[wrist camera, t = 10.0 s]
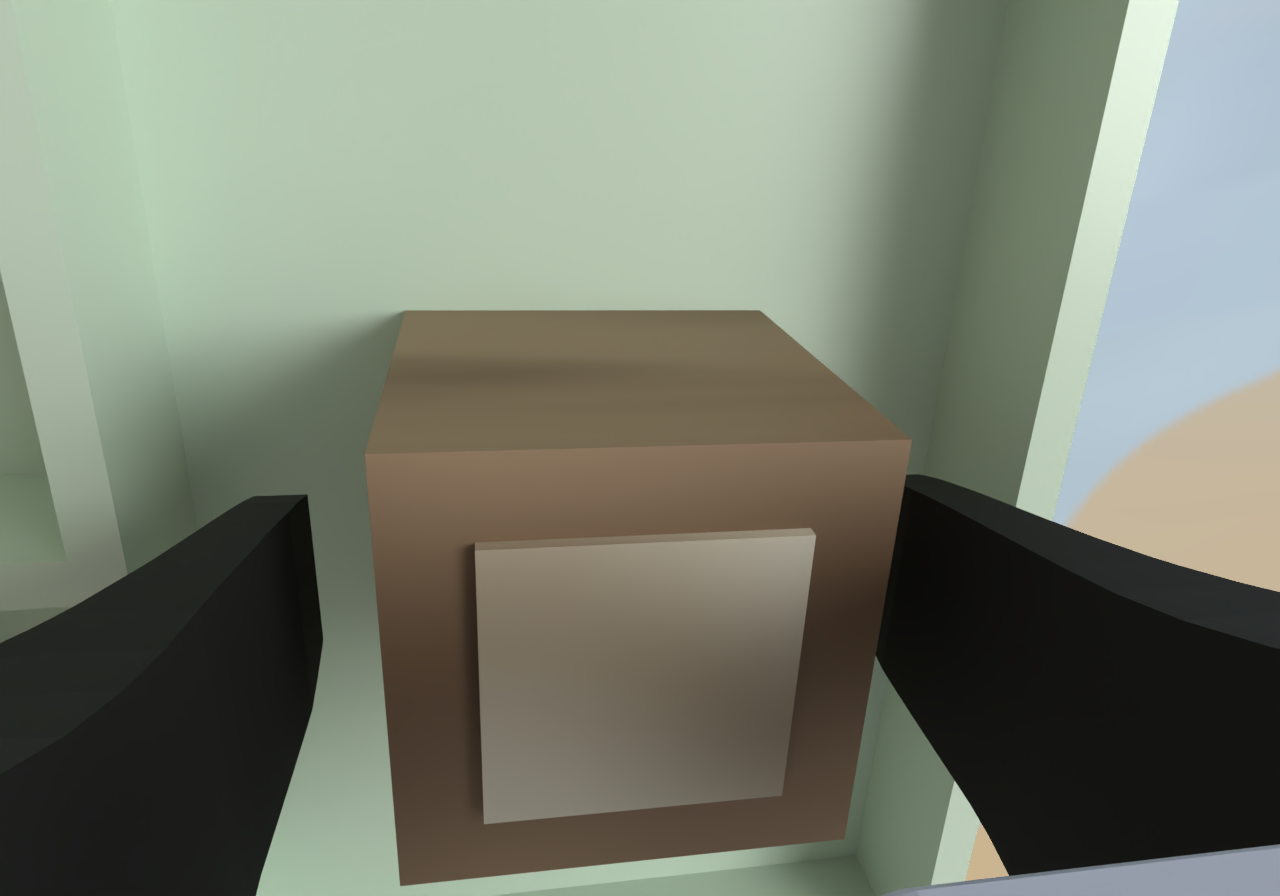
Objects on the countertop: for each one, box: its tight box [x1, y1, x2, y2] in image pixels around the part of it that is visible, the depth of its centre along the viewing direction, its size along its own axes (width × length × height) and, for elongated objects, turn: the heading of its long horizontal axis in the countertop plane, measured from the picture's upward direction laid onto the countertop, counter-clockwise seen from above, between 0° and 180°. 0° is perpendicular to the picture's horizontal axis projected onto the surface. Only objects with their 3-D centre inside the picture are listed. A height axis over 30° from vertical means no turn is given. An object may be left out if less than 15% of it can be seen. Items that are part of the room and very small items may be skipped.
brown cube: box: [365, 310, 912, 886], centre depth 11 cm, size 5×5×5 cm
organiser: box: [0, 0, 1179, 896], centre depth 12 cm, size 18×24×3 cm
